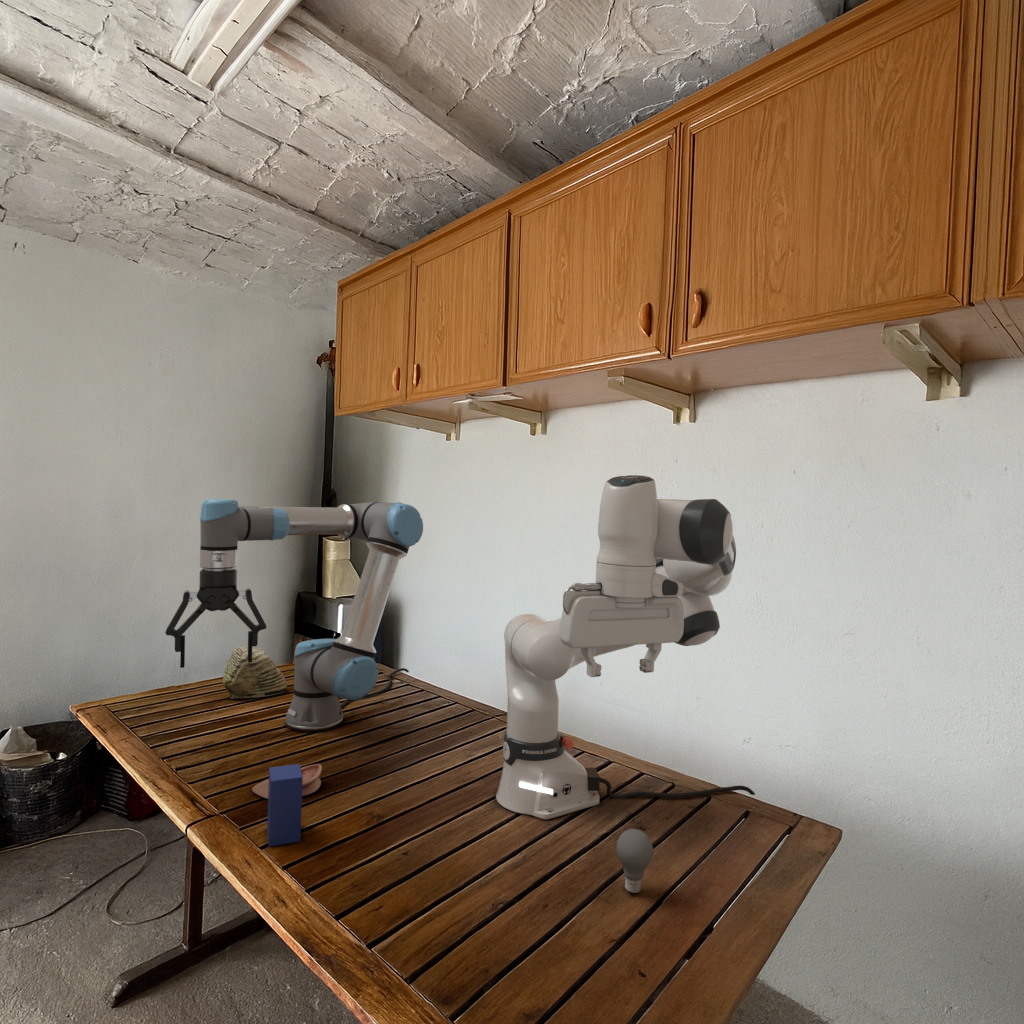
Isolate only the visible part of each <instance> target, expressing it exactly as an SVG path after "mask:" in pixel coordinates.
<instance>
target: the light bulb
mask: <svg viewBox="0 0 1024 1024" xmlns="http://www.w3.org/2000/svg"><path fill="white" fill-rule="evenodd" d="M615 849H616V854H617V857H618V859H619V861H620V863H621V865H622V867H623V873H624V874H623V875H624V876H625V878H624V888H625V890H627V891H628V892H630V893H634V894H635V893H639V892H640V891H641V889H642V887H641V886H642V879H643V877H644V875H645V871H646V868H647V867H648V866H649V864H650V863H651V861H652V859H653V855H654V847H653V843H652V841H651V838H649V836H648V835H647V834H646V833H645V832H643V831H642V830H641V829H636V828H629V829H627V830H625V831H623V832H622V833H621V834H620V835H619V837H618V839H617V841H616V847H615Z"/></svg>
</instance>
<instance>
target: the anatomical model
mask: <svg viewBox="0 0 1024 1024" xmlns="http://www.w3.org/2000/svg"><path fill="white" fill-rule="evenodd" d="M300 768H301V772H302V777H303V782H302V797H304V796H307V795H311V794H312V793H315V792H316V791H318V790H319V788H320V787H321V785H322V780H321V779H320V776H321V774H322V770H323V766H322V764H320V763H314V764H309V765H306V766H303V767H300ZM268 790H269V778H267V779H264V780H263V781H261V782H259V783H257V784H256V785H254V786H252V788H251V791H252V793H254V794H256V795H257V796H259V797H261V798H264V799H267V800H268Z"/></svg>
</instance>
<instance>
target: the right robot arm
mask: <svg viewBox="0 0 1024 1024" xmlns="http://www.w3.org/2000/svg"><path fill="white" fill-rule="evenodd" d="M657 492H658V491H657V485H656V481H655V479H654V478H653V477H651V476H647V475H637V474H634V475H633V474H631V475H618V476H614V477H611V478H609V479H608V480H606V481H605V483H604V486H603V489H602V492H601V498H600V503H599V504H600V505H599V511H598V512H599V513H598V523H597V535H598V540H599V550H598V554H597V556H596V565H595V566H596V567H595V582H587V583H582V582H581V583H580V582H576V583H572V584H571V586H568V587H567V588H566V589H565V591H564V592H563V595H562V613H561V617H560V618H556V619H552V620H546V619H544V618H543V617H541V616H539V615H537V614H535V613H522V614H518V615H516V616H514V617H513V618H511V619H510V620H509V621H508V622H507V623H506V626H505V629H504V631H503V632H504V633H503V639H504V654H505V655H504V658H505V677H506V687H507V711H506V730H505V731H504V736H503V744H502V755H503V757H502V758H503V766H502V770H501V771H502V772H501V777H500V781H499V784H498V787H497V788H498V789H497V791H496V794H495V799H496V801H497V803H498V804H499V805H500V806H502V807H503V808H504V809H506V810H509V811H511V812H514V813H518V814H522V815H523V814H524V815H528V816H533V817H535V818H537V819H542V820H550V819H554V818H558V817H560V816H564V815H568V814H570V813H575V812H577V811H580V810H583V809H587V808H590V807H594V806H597V805H600V802H601V799H600V794H599V791H600V787H601V786H600V784H603V785H605V786H606V794H607V796H608V797H610V798H611V799H630V798H634V797H649V798H661V799H663V798H664V799H682V798H692V797H700V796H701V797H702V796H707V795H712V794H716V793H725V792H734V791H745V792H747V793H748V794H749V795H751V796H756V792H754V790H752V789H751V788H750V787H748V786H745V785H732V786H721V787H720V786H719V787H715V788H714V787H713V788H709V789H704V790H696V791H688V792H668V793H667V792H653V791H633V792H627V793H624V794H614V793H613V792H612V784H611V783H610V781H609V780H608V779H606V778H603V777H601V776H600V774H599V773H598V771H597V769H596V767H585V766H584V765H583V764H582V763H581V762H580V761H579V760H577V759H576V758H575V757H574V756H573V755H572V754H570V753H569V752H568V751H566V750H571V749H573V748H574V741H573V740H572V739H570V738H569V737H567V736H566V737H565V735H563V734H562V733H560V732H559V731H558V730H559V729H558V728H559V708H560V699H559V693H558V690H557V689H558V688H557V683H556V680H558V679H560V678H562V677H563V676H564V675H566V673H567V672H568V671H569V670H570V669H572V668H574V667H576V666H578V665H580V664H582V663H584V662H585V663H586V675H587V676H588V677H590V678H596V677H597V678H598V677H601V676H602V664H600V663H598V662H596V660H595V658H596V657H598V656H601V655H605V654H609V653H612V652H616V651H619V650H623V649H627V648H631V647H634V646H639V645H645V647H646V648H647V651H646V654H645V655H644V657H643V658H640V659H639V667H638V668H639V671H640V672H642V673H645V674H646V673H647V674H648V673H654V671H655V662H656V660H657V659H658V658H659V657H658V656H659V655H660V653H661V651H662V647H663V646H662V645H663V644H669V643H670V644H671V643H672V644H676V645H678V646H679V645H680V646H683V647H691V646H692V647H693V646H699V645H702V644H705V643H707V642H708V641H710V640H711V639H712V638H713V637H714V636H716V635H717V634H718V632H719V630H720V628H721V624H720V619H719V616H718V611H716V610H715V608H714V605H713V602H712V600H711V599H712V598H711V597H713V596H716V595H719V594H721V593H723V592H724V591H725V590H726V589H727V588H728V587H729V585H730V584H731V581H732V576H733V571H734V569H735V564H736V559H737V558H736V557H737V546H736V541H735V538H734V537H735V536H734V525H733V520H732V514H731V512H730V510H729V509H728V508H727V507H726V506H725V505H724V504H723V503H722V502H720V501H719V500H718V499H716V498H705V499H704V498H702V499H701V498H700V499H677V498H676V499H675V498H674V499H672V498H671V499H670V498H658V493H657ZM565 749H566V750H565ZM720 788H721V789H720Z"/></svg>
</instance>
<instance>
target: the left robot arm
mask: <svg viewBox="0 0 1024 1024" xmlns="http://www.w3.org/2000/svg"><path fill="white" fill-rule="evenodd" d="M199 517H200V518H199V521H200V546H199V547H200V548H199V567H200V568H201V569H200V571H199V583H198V584H199V585H198V586H199V589H198V591H190V590H184V592H183V595H182V601H181V603H180V604H179V606H178V608H177V609H176V612H175V613H174V615H173V617H172V618H171V621H170V622H169V624H168V626H167V627H166V629H165V635H166V636H171V637H174V652H175V653H180V656H179V657H180V662H179V667H180V669H184V668H185V665H186V663H185V662H186V661H185V659H186V657H185V655H186V635H185V632H186V631H187V630H188V629H189V628H190V627H191V626H192V625H193V624H194V623H195V622H196V621H197V619H199V617H200V616H201V615H203V613H204V612H206V610H207V611H209V612H217V611H220V612H221V611H222V612H223V611H224V612H226V611H227V610H229V609H230V611H232V612H233V613H234V614H235V615H236V616H237V617H238V618H239V619H240V621H241V622H243V624H245V626H246V627H247V628H248V629H249V630H248V631H247V648H248V662H252V649H253V647H257V646H258V644H259V641H258V640H259V638H258V637H259V632H261V631H262V630H266V629H267V624H266V622H265V620H264V618H263V617H262V616H263V615H261V613H260V611H259V609H258V607H257V605H256V603H255V601H254V599H253V593H252V590H251V588H249V587H247V588H246V589H242V590H238V584H237V583H238V570H237V569H236V567H237V566H238V546H239V545H238V544H239V542H245V541H247V542H249V541H271V542H273V541H275V540H283V539H285V538H286V537H287V536H320V535H321V536H322V535H323V536H326V535H333V536H334V535H337V536H338V537H340V538H343V539H357V540H362V541H366V542H365V543H366V546H367V548H368V550H369V551H368V555H367V558H366V561H365V564H364V567H363V570H362V573H361V576H360V579H359V582H358V585H357V588H356V591H355V594H354V596H353V597H354V598H353V600H352V603H351V606H350V609H349V612H348V615H347V619H346V622H345V624H344V627H343V631H342V633H341V635H340V636H339V637H337V638H318V639H308V640H304V641H300V642H299V643H297V644H296V646H295V650H294V655H293V657H294V672H293V673H294V674H293V695H292V696H293V697H292V699H291V702H290V704H289V708H288V709H287V713H286V715H285V726H286V728H287V729H289V730H291V731H294V732H295V731H296V732H301V733H316V732H325V731H329V730H332V729H335V728H337V727H339V726H340V725H342V723H343V722H344V714H343V709H342V708H343V707H345V706H346V705H347V704H348V703H350V702H351V701H357V700H360V699H365V698H368V697H373V696H375V695H379V694H382V693H384V692H386V691H387V690H389V689H390V687H391V685H392V676H393V675H395V674H397V673H399V672H406V673H409V672H410V671H409V669H407V668H405V667H401V668H398V669H396V670H393V671H392V672H390V673H389V674H388V675H387V680H388V684H387V685H386V686H385V687H384V688H381V689H380V690H377V691H374V692H371V691H372V690H373V689H374V687H375V685H376V683H377V681H378V678H379V668H378V664H377V662H376V661H375V658H376V656H377V655H376V654H377V650H376V648H375V646H374V642H375V638H376V636H377V632H378V629H379V627H380V623H381V620H382V617H383V614H384V611H385V607H386V604H387V601H388V598H389V595H390V592H391V589H392V585H393V582H394V579H395V576H396V573H397V571H398V570H397V569H398V566H399V564H400V561H401V559H404V558H405V557H407V556H408V553H409V550H410V547H412V546H415V545H416V544H417V543H419V542H420V540H421V539H422V536H423V532H424V521H423V518H422V517H421V513H420V512H419V510H418V509H417V508H416V507H415V506H413V505H411V504H408V503H403V502H400V501H399V502H387V501H386V502H385V501H369V502H361V503H348V504H347V503H342V504H340V505H338V506H337V507H325V506H324V507H323V506H318V507H316V506H260V505H259V506H252V505H251V506H249V505H244V506H243V505H239V502H238V500H236V499H225V498H224V499H222V498H221V499H220V498H208V499H205V500H203V501H202V503H201V508H200V516H199ZM239 597H241V598H242V599H243V600H245V601H246V603H247V605H248V607H249V609H250V610H251V612H252V614H253V616H254V618H255V620H256V621H257V623H258V624H255V623H254V622H253V621H252V620H251V619H250V617H249V616H247V614H246V613H245V612H244V611H243V610H242V609H241V608H240V607H239V606H238V604H236V600H237V599H238V598H239ZM196 598H197V600H198V601H199V602H200V604H199V605H198V606H197V608H196V609H195V610H194V611H193V612H192V613H191V614H190V615H189V616H188V618H187V619H186V620H185V621H184V622H183V623H182V624H181V625H180V626H179V627H178V628H177V629H176V627H177V625H178V623H179V621H180V619H181V618H182V616H183V614H184V613H185V611H186V609H187V608H188V605H189V603H192V602H193V601H194V599H196ZM370 692H371V693H370ZM340 699H342V700H344V701H343V702H342V703H341V702H340Z"/></svg>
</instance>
